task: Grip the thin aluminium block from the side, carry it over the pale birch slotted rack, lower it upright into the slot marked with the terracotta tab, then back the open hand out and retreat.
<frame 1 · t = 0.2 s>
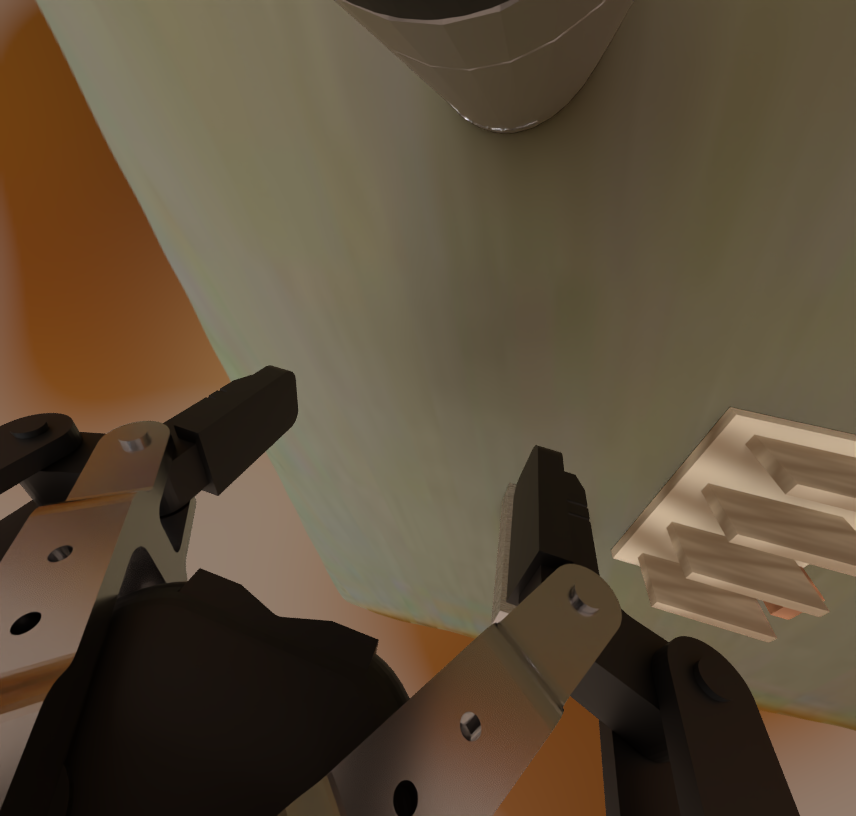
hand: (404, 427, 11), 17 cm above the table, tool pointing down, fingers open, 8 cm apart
slot rack: (740, 513, 30), on the table
aluminium block: (533, 499, 35), on the table
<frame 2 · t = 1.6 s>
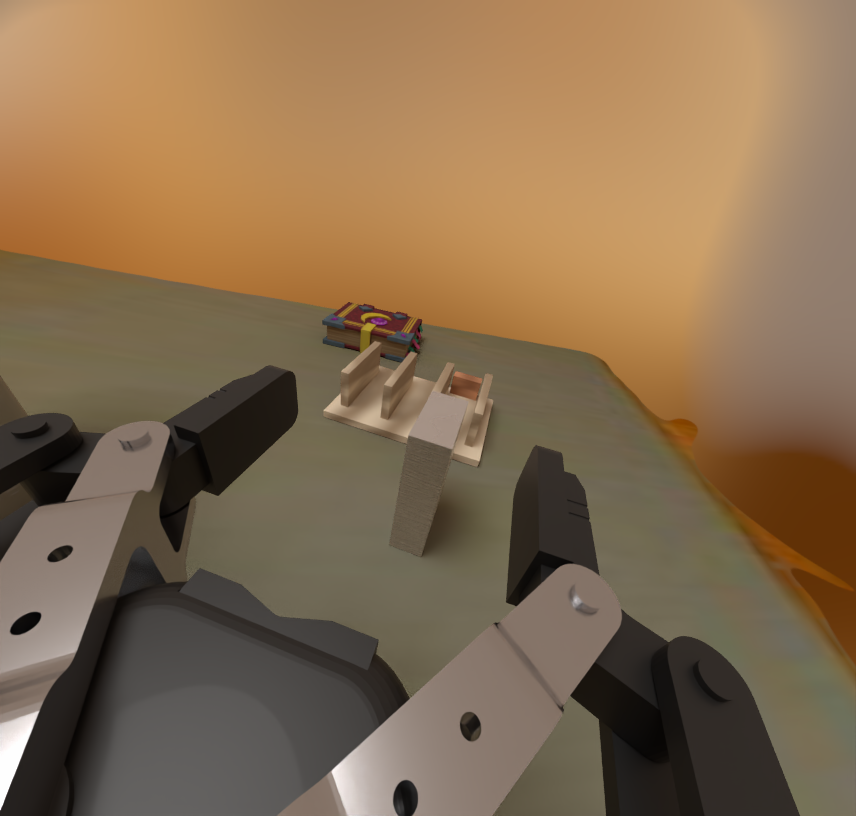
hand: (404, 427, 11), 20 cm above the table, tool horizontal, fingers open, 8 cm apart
decorative book: (377, 344, 61), on the table
slot rack: (415, 410, 46), on the table
aluminium block: (415, 523, 31), on the table
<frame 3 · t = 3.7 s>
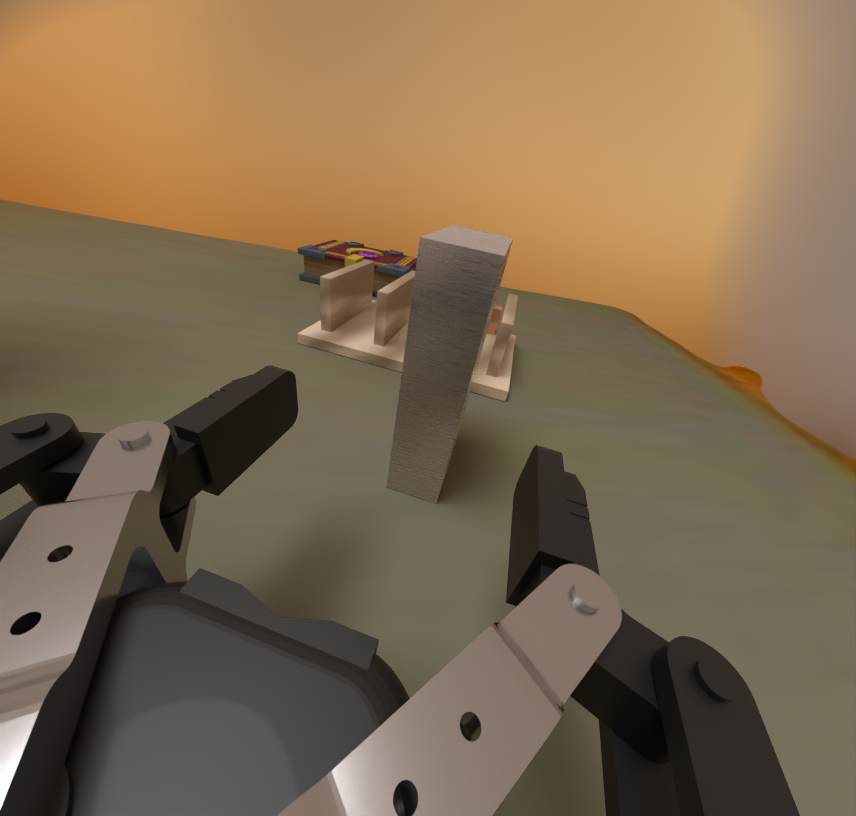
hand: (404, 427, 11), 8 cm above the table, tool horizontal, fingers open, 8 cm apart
decorative book: (367, 286, 51), on the table
slot rack: (419, 343, 36), on the table
aluminium block: (425, 460, 21), on the table
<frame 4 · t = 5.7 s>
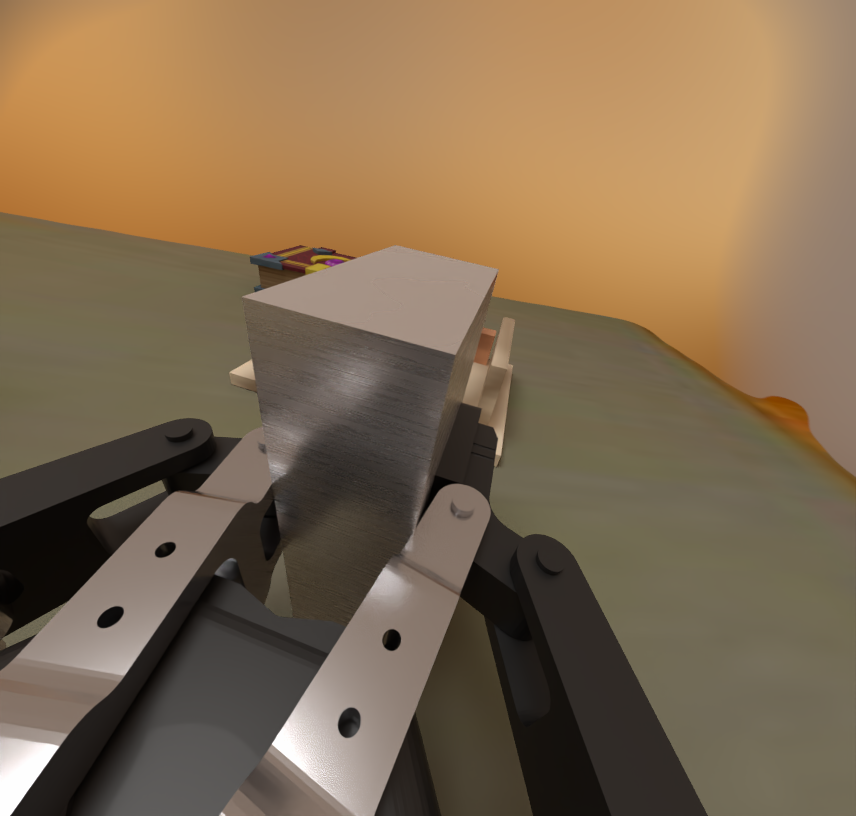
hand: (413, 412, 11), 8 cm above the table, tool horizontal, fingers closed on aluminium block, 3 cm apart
decorative book: (337, 299, 44), on the table
slot rack: (392, 378, 29), on the table
aluminium block: (371, 590, 14), on the table, touching gripper
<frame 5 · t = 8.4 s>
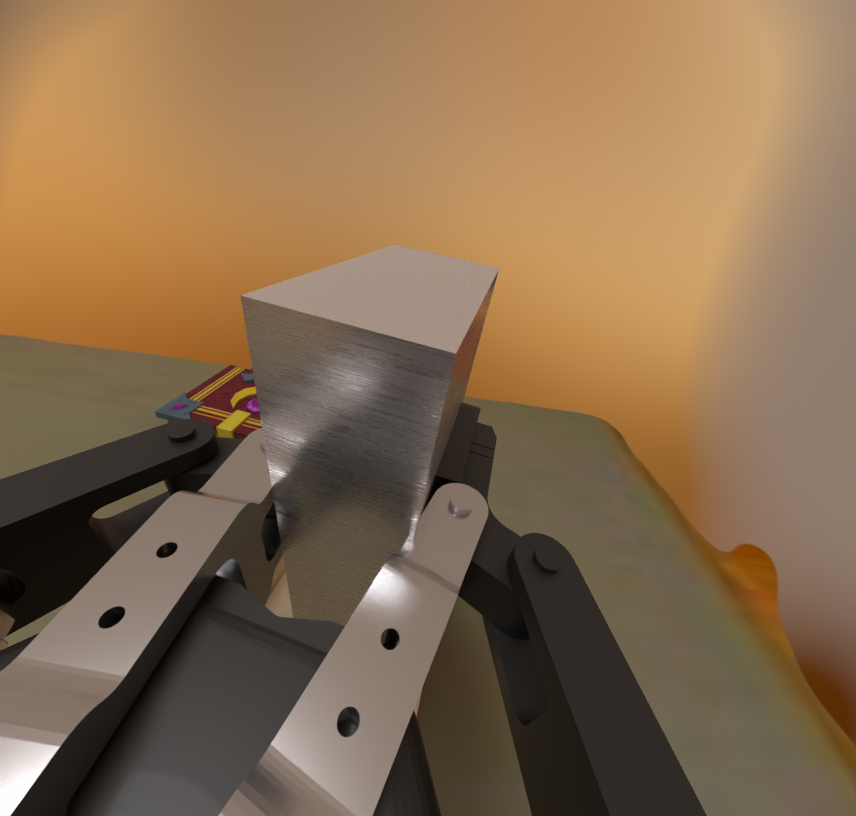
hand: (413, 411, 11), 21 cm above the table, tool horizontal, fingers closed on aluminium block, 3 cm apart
decorative book: (268, 432, 40), on the table
slot rack: (304, 600, 25), on the table
aluminium block: (372, 591, 14), point 13 cm above the table, touching gripper
when the fingers open (11 cm above the table, at t = 10.9 s): aluminium block drops 2 cm, resting on slot rack.
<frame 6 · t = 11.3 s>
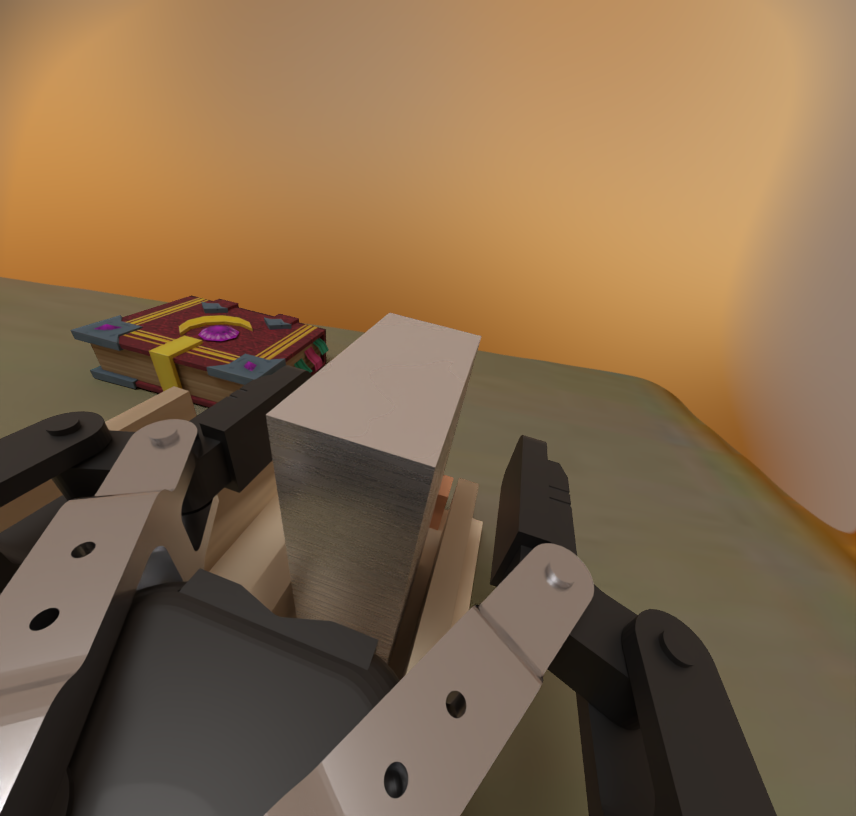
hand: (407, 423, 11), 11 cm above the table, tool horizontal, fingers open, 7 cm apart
decorative book: (232, 376, 31), on the table
slot rack: (266, 580, 16), on the table
aluminium block: (370, 611, 15), point 1 cm above the table, touching slot rack
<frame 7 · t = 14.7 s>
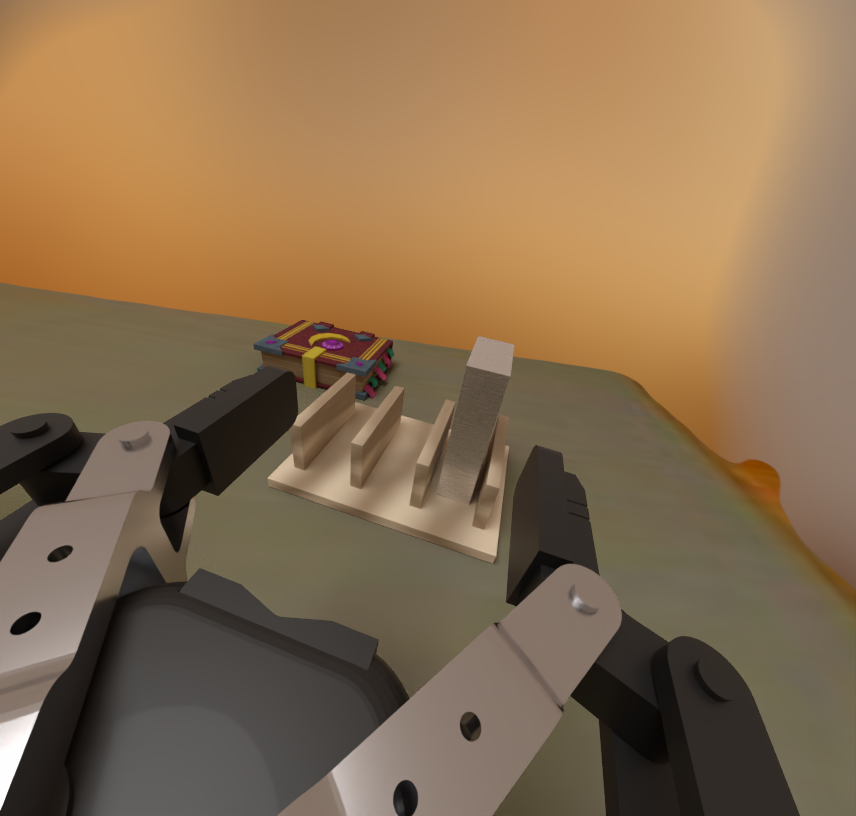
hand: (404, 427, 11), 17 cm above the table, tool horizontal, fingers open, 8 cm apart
decorative book: (334, 372, 47), on the table
slot rack: (402, 467, 33), on the table
aluminium block: (458, 476, 32), point 1 cm above the table, touching slot rack
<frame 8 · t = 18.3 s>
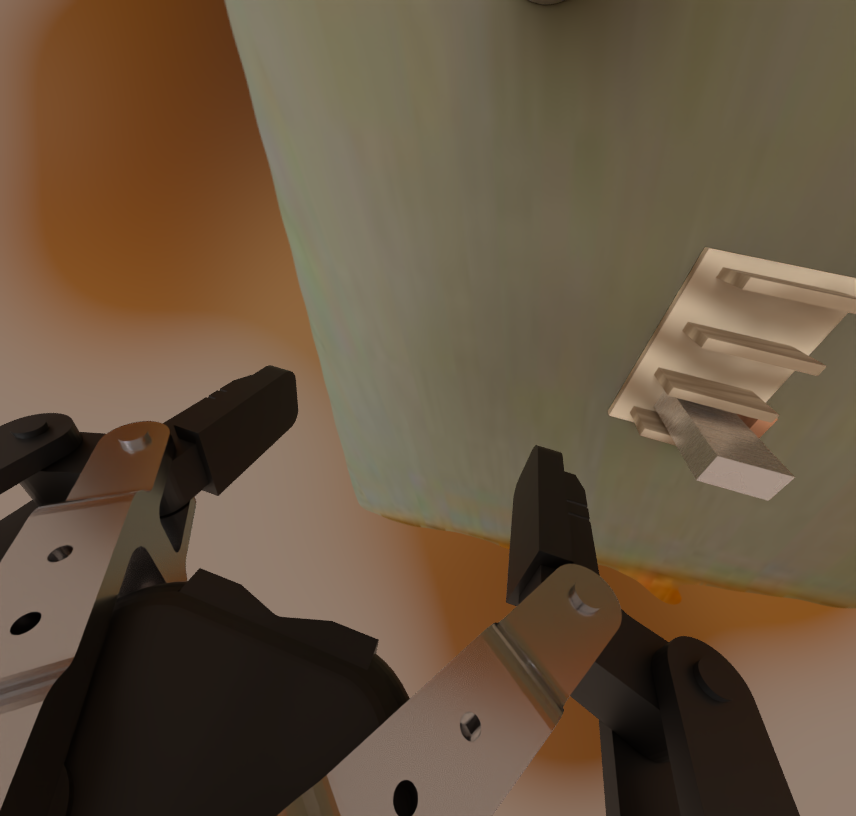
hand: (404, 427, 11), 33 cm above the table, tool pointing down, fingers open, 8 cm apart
slot rack: (713, 357, 37), on the table
aluminium block: (687, 402, 39), point 1 cm above the table, touching slot rack
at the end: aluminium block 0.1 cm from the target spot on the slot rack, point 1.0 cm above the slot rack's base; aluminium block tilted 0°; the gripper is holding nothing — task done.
